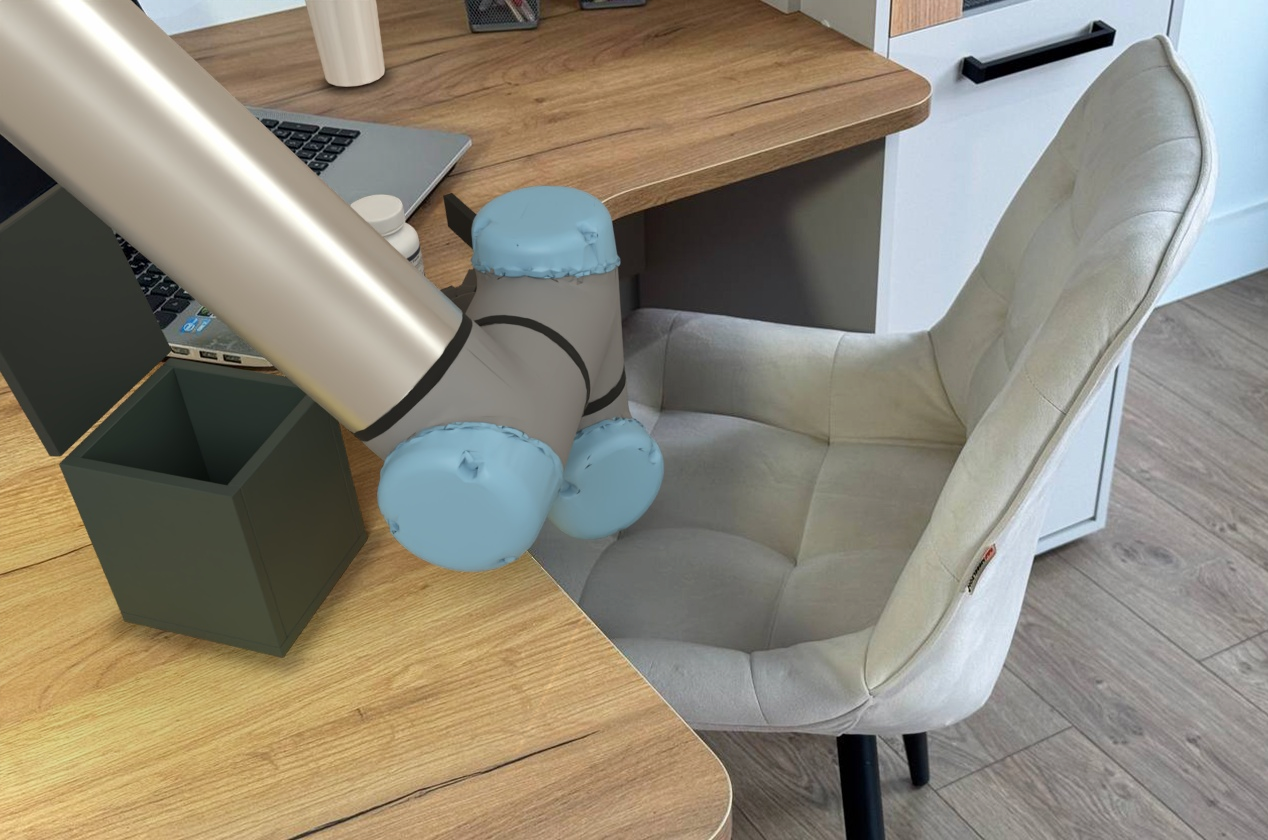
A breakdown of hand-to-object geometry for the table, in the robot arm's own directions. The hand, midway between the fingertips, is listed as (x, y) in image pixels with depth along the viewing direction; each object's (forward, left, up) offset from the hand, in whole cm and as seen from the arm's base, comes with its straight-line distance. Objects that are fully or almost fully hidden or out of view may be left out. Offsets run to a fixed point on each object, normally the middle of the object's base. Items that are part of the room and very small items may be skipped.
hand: (367, 235), depth 99 cm
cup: (-24, +40, -6) cm, 47 cm away
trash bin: (+7, -30, -6) cm, 31 cm away
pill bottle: (+2, -2, -6) cm, 7 cm away
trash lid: (+1, -30, +12) cm, 32 cm away
